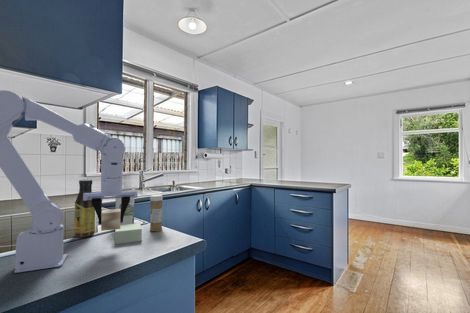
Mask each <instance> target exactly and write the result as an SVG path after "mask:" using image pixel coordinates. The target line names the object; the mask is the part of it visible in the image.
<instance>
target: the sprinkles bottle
mask: <svg viewBox="0 0 470 313" xmlns="http://www.w3.org/2000/svg"><path fill="white" fill-rule="evenodd" d="M163 197H164V196H163V195H162V194H152V195H150V196H149V200H150V211H149V212H150V213H149V217H150V218H149V223H150V225H149V227H150V228H149V231H150V232H160V231H162V230H163V227H162V225H163V200H164V198H163Z"/></svg>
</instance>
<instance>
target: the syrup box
mask: <svg viewBox="0 0 470 313" xmlns="http://www.w3.org/2000/svg"><path fill="white" fill-rule="evenodd" d="M129 191H132V190H129ZM115 197H117V196H115ZM114 207H115V209H121V198H115V206H114ZM120 216H121V212H120ZM126 224H135V198H130V202H129V204H128V206H127V208H126V211H125V214H124V217H123V223H120V225H126Z"/></svg>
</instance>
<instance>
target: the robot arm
mask: <svg viewBox="0 0 470 313" xmlns="http://www.w3.org/2000/svg"><path fill="white" fill-rule="evenodd" d="M23 117H24V120H25V121H39V122H43V123H44V124H47V125H50V126H51V127H54V128H56V129H58V130H60V131H63V132H65V133H68V134H70V135H71V136H72V138H73V141H74V142H76V143H78V144H80V145H83V146H85V147H87V148H89V149H91V150H94V151H96V152H99V153H100V154H101V163H100V167H101V168H100V169H101V170H100V173H101V174H100V177H101V178H100V191H96V192H93V191H92V192H91V193H84V194H83V201H85V200H92V202H91V203H92V205H93V207H94V209H95V214H96V216H97V220H98V225H100V226H101V213H102V210H103V200H110V199H115V200H116V198H121V216H120V223H123V217H124V214H125V211H126V208H127V206H128V204H129V202H130V198H134V199H138V196H139V195H138V194H139V193H138V190H131V191H130V190H123V155H124V153H125V151H126V146H125V144H124V142H123V140H121V139H120V138H118V137H111V135H112V134H111V133H109V132H107V133H106V132H103V131H101V130H99V129H98V128H95V127H96V125H94V124H93V123H89V124H88V123H86V122H85V123H80V124H77V123H76V122H74V121H72V120H70V119H68V118H66V117H64V116H63V115H61V114H59V113H57V112H56V111H53V110H52V109H50V108H48V107H46V106H45V105H42V104H40V103H39V102H36V101H33V100H31V99H29V98H28V97H24V96H22V97H20V95H18V94H16V93H15V92H13V91H11V90H7V89H5V90H3V89H2V90H1V89H0V169H1V171H2V172H3V174H4V175H5V176H6V178H7V179H8V181H9V182H10V184H11V185H12V187H13V188H14V189H15V191H16V193H17V194H18V195H19V197H20V198H21V200H22V201H23V203H24V205H25V206H26V208H27V210H28V212H29V213H30V215H31V224H32V225H31V227H30V228H29V229H28V230H27V231H21V232H19V234H18V236H17V237H16V241H15V266H14V267H15V269H14V273H15V274H16V273H22V272H31V271H32V272H33V271H37V270H43V269H45V270H46V269H50V268H51V269H52V268H59V267H62V266H63V264H64V262H65V260H66V258H67V257H68V253H64V227H65V226H64V224H63V221H64V213H63V211H62V209H61V208H60V206H59V205H58V204H57V203H55V202H54V201H52V200H50V198H49V197H48V195H47V194H46V192H45V191H44V189H43V188H42V187H41V185H40V184H39V182H38V181H37V179H36V177H35V176H34V175H33V173H32V171H31V170H30V169H29V167H28V165H27V164H26V162H25V161H24V159H23V158H22V156H21V154H20V153H19V151H18V150H17V148H16V146H15V145H14V144H13V142H12V141H11V139H10V138H9V135H10V133H11V131H12V129H13V127H14V125H15V124H16V123H18V122H19V121H20V120H21V119H22V118H23ZM116 196H117V197H116Z"/></svg>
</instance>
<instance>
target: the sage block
mask: <svg viewBox="0 0 470 313" xmlns="http://www.w3.org/2000/svg"><path fill="white" fill-rule="evenodd" d="M114 231H115V232H114V234H115V235H114V245H117V244H126V243H135V242H142V241H143V240H142V239H143V237H142V236H143V235H142V234H143V233H142V232H143V230H142V225H141V223H140V222H138V223H134V224H126V225H120V229H114Z"/></svg>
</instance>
